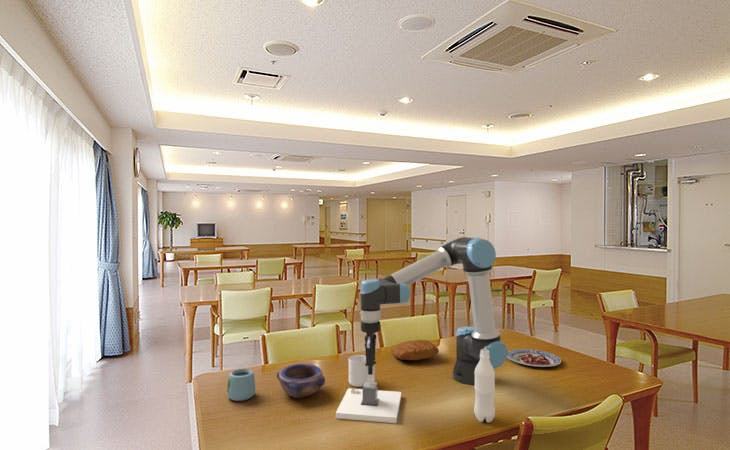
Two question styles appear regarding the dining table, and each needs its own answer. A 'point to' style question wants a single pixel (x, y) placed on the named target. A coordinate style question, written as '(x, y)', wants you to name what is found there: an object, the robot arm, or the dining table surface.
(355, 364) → the mug
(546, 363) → the ceramic plate
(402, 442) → the dining table surface
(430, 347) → the bread loaf
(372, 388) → the plug
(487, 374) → the water bottle
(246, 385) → the mug
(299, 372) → the bowl
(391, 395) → the socket plate
